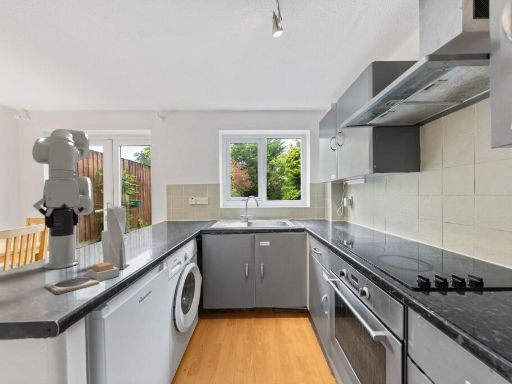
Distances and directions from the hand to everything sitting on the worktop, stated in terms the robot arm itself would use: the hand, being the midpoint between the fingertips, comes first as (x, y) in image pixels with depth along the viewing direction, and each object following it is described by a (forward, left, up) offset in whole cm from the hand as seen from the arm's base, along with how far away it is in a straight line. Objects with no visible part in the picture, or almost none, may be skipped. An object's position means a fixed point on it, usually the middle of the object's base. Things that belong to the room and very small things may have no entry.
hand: (62, 226), depth 93 cm
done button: (+4, +12, -18) cm, 22 cm away
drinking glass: (-15, +23, -21) cm, 35 cm away
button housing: (+4, +12, -20) cm, 24 cm away
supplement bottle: (0, 0, -4) cm, 4 cm away
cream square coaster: (+5, +1, -20) cm, 21 cm away
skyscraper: (-5, +21, -21) cm, 30 cm away
